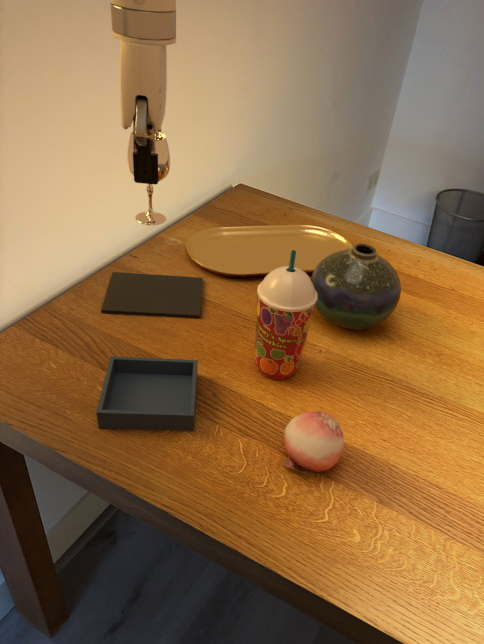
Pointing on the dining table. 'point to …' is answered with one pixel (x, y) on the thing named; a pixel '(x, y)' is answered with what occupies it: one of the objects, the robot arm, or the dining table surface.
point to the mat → (153, 295)
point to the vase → (356, 288)
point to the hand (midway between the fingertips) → (149, 172)
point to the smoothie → (283, 319)
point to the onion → (313, 442)
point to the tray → (148, 394)
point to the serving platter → (262, 248)
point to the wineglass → (163, 170)
